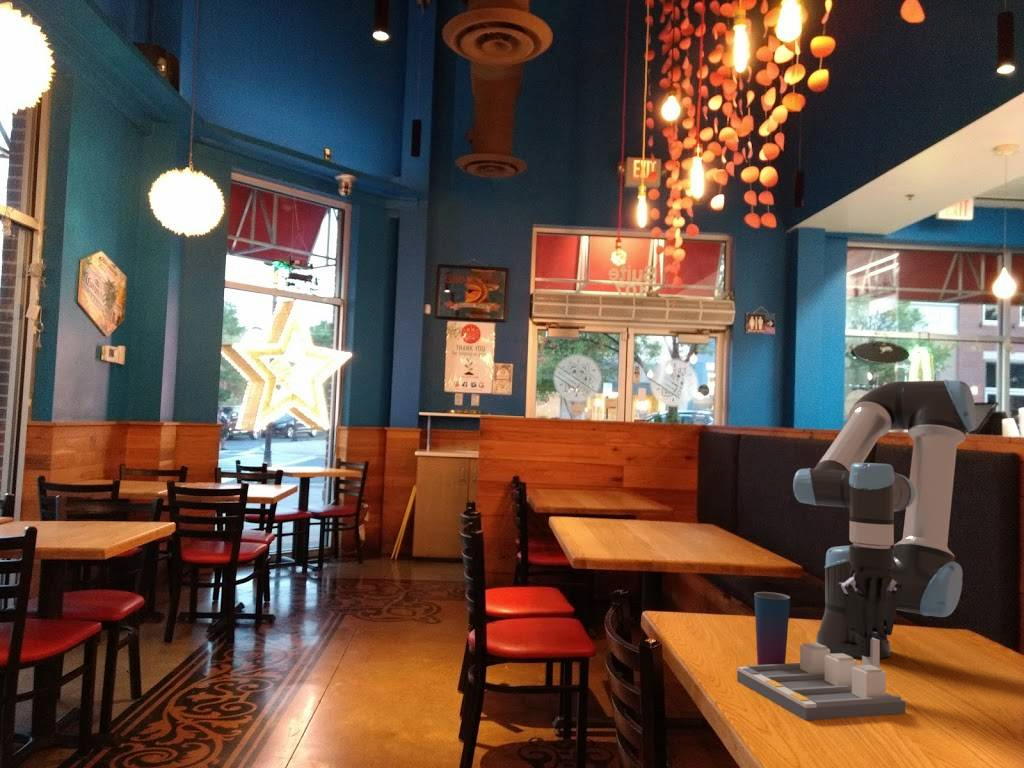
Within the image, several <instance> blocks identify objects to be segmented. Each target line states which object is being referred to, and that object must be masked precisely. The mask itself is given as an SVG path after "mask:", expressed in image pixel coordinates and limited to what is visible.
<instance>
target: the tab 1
mask: <svg viewBox="0 0 1024 768" xmlns="http://www.w3.org/2000/svg"><path fill="white" fill-rule="evenodd" d="M828 654H831V652H830V649H828V648H827V647H826V646H824V645H821V644H819V643H817V642H807V643H806V642H803V644H800V645H799V663H800V669H801V670H804V671H806V672H808V673H825V656H826V655H828Z"/></svg>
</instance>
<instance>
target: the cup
mask: <svg viewBox="0 0 1024 768" xmlns="http://www.w3.org/2000/svg"><path fill="white" fill-rule="evenodd" d="M753 598H754V615H755V616H754V617H755V618H754V620H755V636H756V637H755V638H756V639H755V640H756V656H757V657H756V658H757V661H756V662H757V665H768V664H786V657H787V642H788V631H789V619H790V618H789V616H790V604H791V596H790V595H787V594H784V593H780V592H779V593H778V592H769V591H757V592H754V597H753Z"/></svg>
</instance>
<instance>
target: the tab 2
mask: <svg viewBox="0 0 1024 768" xmlns="http://www.w3.org/2000/svg"><path fill="white" fill-rule="evenodd" d="M886 673H887V672H886V671H883V669H882V668H880V667H879V668H877V667H875V666H873V665H862V664H861V665H860V664H858V665H857V664H856V665H855V667H852V694H854V695H856V696H858V697H860V698H863V697H879V696H886V693H887V691H886V689H887V688H886V687H887V685H886V683H887V681H886V676H887V675H886Z"/></svg>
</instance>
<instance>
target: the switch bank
mask: <svg viewBox="0 0 1024 768" xmlns="http://www.w3.org/2000/svg"><path fill="white" fill-rule="evenodd" d="M736 673H737V674H736V676H737V677H736V681H737V682H738V683H740V684H742V685H743V686H744V687H747V688H748V689H750V690H752V691H754V692H756V693H757V694H758V695H760V696H762V697H764V698H766V699H768V700H770V701H771V702H773V703H774V704H776V705H778V706H780V707H781V708H783V709H785V710H787V711H788V712H791V713H792V714H793V715H795V716H797V717H799V718H800V719H802V720H804V721H808V722H809V721H818V720H833V719H846V718H859V717H863V718H864V717H873V716H886V715H904V714H906V713H907V712H906V711H907V710H906V704H907V703H906V700H904V699H902V698H901V697H902V696H901V695H898V694H897V695H895V694H894V695H893V694H890V693H888V692H886V696H879V697H863V698H860V697H858V696H856V695H854V694H852V685H840V686H835V685H833V684H831V683H829V682H827V681H825V673H808V672H806V671H804V670H801V669H800V662H793V663H785V664H768V665H758V664H754V665H753V664H751V665H750V664H748V665H746V666H738V667H737V671H736Z"/></svg>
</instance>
